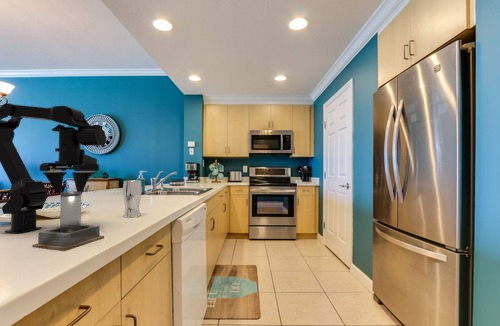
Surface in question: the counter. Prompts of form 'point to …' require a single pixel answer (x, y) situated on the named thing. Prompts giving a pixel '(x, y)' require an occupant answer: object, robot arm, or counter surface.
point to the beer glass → (132, 198)
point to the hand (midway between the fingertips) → (69, 193)
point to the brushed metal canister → (70, 212)
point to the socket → (68, 238)
